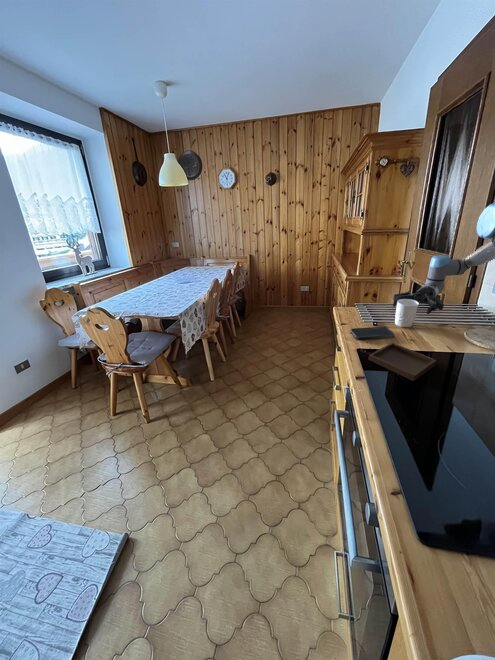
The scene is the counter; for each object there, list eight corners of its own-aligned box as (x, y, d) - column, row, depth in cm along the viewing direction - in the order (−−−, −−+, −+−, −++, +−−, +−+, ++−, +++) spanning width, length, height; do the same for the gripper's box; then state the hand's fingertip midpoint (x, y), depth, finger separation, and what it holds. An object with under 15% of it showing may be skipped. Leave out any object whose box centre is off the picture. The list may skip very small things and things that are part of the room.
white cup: (409, 319, 124) (414, 298, 119) (417, 328, 117) (422, 305, 112) (390, 320, 125) (394, 299, 120) (397, 328, 118) (401, 306, 113)
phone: (350, 328, 117) (385, 326, 117) (349, 331, 118) (385, 328, 118) (357, 337, 110) (395, 335, 110) (356, 340, 111) (394, 337, 111)
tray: (435, 365, 94) (436, 360, 93) (413, 381, 87) (414, 375, 86) (390, 347, 105) (391, 342, 104) (368, 359, 99) (369, 354, 98)
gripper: (455, 306, 128) (441, 322, 115) (398, 295, 144) (380, 308, 131) (460, 291, 124) (446, 305, 112) (400, 281, 141) (382, 293, 128)
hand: (410, 307), depth 122 cm, fingers open, 13 cm apart
